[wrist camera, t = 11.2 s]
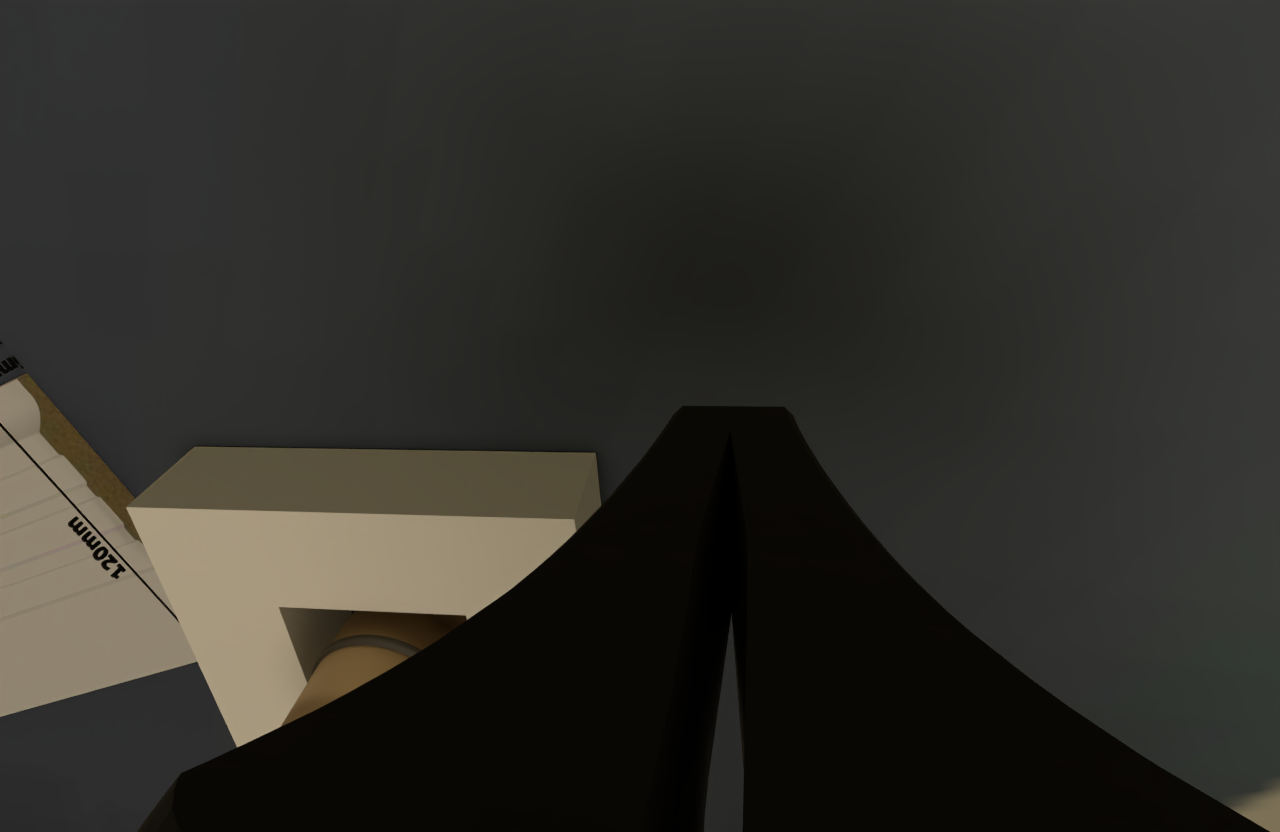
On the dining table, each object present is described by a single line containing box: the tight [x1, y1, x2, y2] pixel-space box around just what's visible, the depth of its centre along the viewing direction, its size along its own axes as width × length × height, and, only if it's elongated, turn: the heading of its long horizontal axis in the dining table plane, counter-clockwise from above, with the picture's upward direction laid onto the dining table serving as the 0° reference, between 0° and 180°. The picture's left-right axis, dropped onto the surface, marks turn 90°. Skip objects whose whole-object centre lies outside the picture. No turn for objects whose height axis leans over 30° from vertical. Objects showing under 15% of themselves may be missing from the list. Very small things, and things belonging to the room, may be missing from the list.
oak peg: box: [281, 611, 467, 726], centre depth 22 cm, size 4×4×9 cm
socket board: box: [126, 447, 601, 747], centre depth 24 cm, size 12×12×3 cm
